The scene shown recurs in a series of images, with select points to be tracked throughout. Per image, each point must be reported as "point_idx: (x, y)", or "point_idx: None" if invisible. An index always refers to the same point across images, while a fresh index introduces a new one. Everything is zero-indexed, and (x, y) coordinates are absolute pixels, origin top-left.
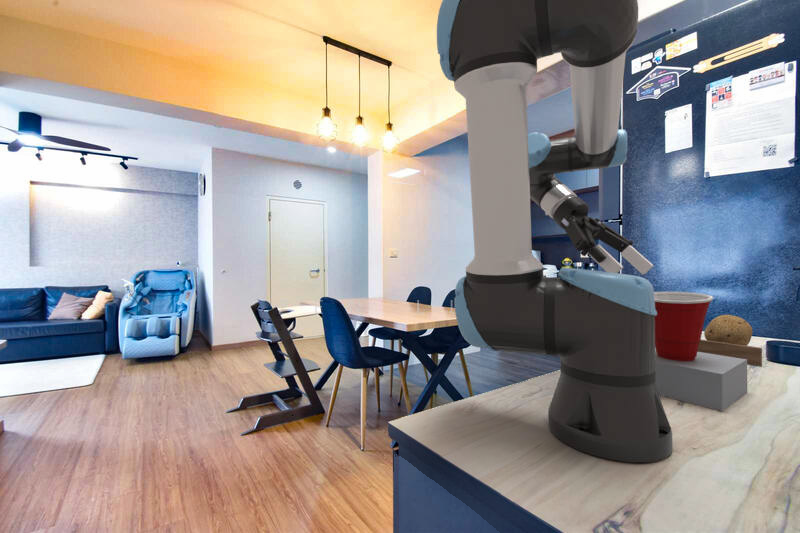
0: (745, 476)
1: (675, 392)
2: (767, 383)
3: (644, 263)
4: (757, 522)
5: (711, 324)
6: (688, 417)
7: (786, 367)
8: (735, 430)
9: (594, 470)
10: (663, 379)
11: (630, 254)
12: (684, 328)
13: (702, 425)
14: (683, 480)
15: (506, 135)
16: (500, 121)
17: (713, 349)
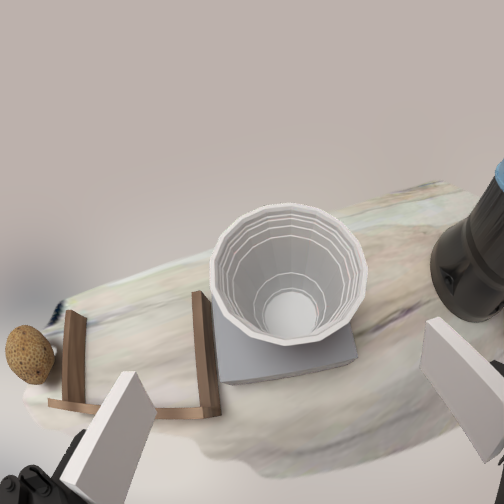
0: (423, 202)
1: None
2: (160, 286)
3: (131, 403)
4: (452, 186)
5: (27, 369)
6: (374, 268)
7: (74, 300)
8: (361, 235)
9: None
10: None
11: (109, 470)
12: (319, 263)
13: (379, 252)
14: (460, 215)
15: None
16: None
17: (75, 365)
